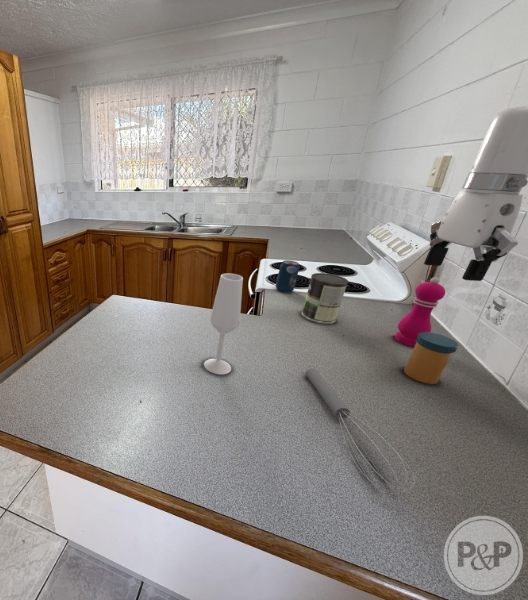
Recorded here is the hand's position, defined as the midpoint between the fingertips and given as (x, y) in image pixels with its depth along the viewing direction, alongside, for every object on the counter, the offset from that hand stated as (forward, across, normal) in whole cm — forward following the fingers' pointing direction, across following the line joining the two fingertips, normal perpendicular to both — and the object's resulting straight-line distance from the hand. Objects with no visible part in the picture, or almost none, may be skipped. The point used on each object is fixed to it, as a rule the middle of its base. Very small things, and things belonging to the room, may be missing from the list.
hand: (450, 272), depth 65 cm
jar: (+27, +2, -6) cm, 28 cm away
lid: (+17, +2, -6) cm, 18 cm away
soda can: (+28, +57, +8) cm, 64 cm away
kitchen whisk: (+28, -18, +23) cm, 40 cm away
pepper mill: (+27, +19, -15) cm, 37 cm away
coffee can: (+28, +33, +5) cm, 43 cm away
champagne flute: (+28, -1, +44) cm, 52 cm away
